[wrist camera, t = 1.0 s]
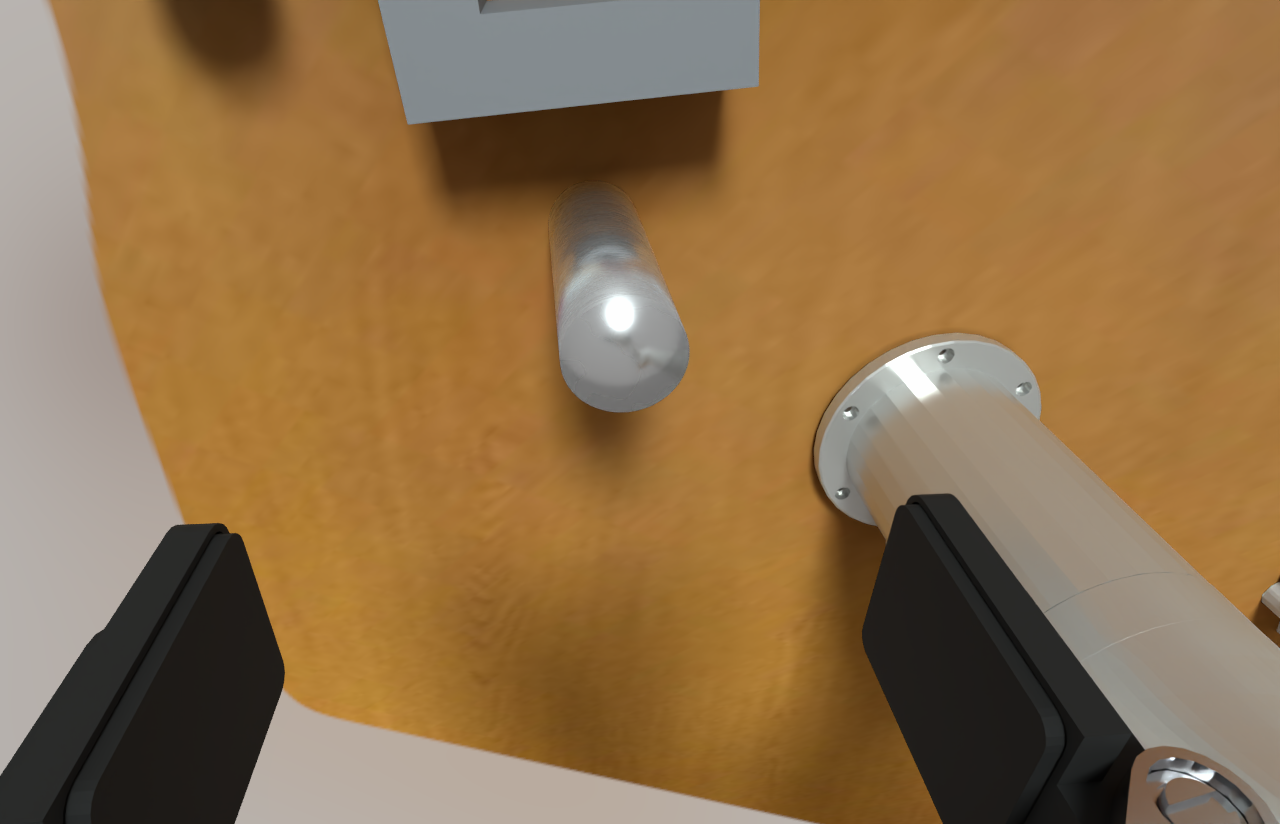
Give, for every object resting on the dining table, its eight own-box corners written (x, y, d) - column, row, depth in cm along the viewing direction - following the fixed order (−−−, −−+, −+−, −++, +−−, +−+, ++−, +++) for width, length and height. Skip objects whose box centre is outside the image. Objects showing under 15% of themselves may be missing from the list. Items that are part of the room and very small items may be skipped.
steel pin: (641, 262, 34) (691, 403, 24) (555, 273, 34) (569, 420, 24) (635, 175, 32) (686, 289, 22) (541, 186, 31) (551, 306, 21)
